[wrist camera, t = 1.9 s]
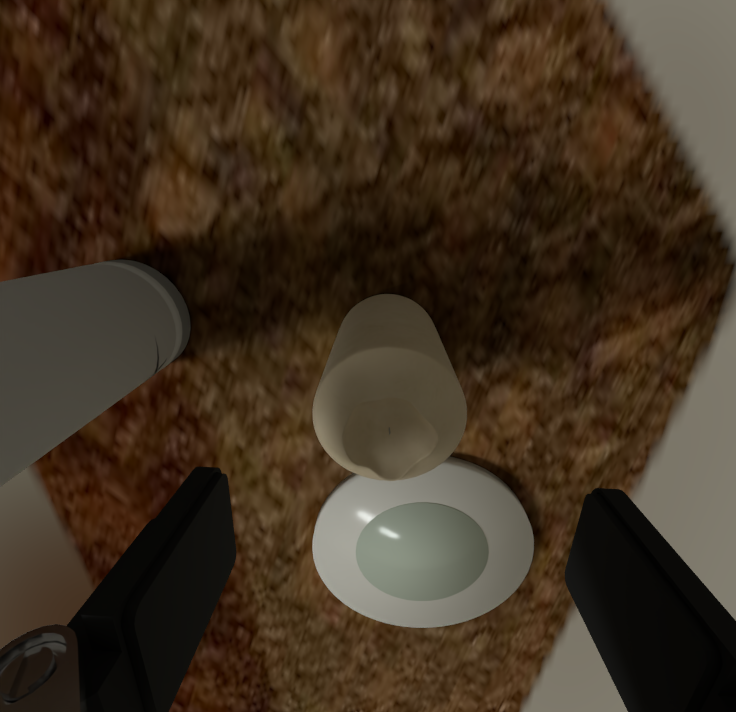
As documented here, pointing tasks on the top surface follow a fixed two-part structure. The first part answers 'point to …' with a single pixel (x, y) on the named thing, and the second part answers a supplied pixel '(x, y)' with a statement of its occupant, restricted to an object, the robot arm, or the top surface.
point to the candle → (389, 393)
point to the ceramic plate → (423, 545)
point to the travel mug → (79, 349)
